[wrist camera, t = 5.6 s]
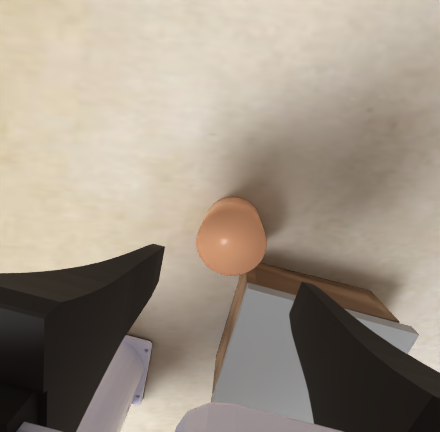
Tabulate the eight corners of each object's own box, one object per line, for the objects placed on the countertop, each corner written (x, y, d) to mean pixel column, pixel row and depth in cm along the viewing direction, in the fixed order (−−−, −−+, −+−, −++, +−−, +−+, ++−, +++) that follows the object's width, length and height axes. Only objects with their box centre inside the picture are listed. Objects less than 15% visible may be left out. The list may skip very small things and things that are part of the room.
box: (323, 383, 25) (339, 426, 21) (216, 356, 25) (212, 393, 21) (370, 290, 21) (399, 321, 17) (245, 259, 21) (246, 283, 17)
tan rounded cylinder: (251, 255, 21) (254, 282, 17) (199, 242, 21) (189, 265, 17) (267, 205, 20) (276, 220, 15) (212, 190, 20) (205, 202, 15)
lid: (345, 436, 20) (349, 447, 19) (211, 397, 21) (210, 406, 20) (411, 326, 17) (419, 334, 16) (247, 282, 17) (247, 288, 16)
